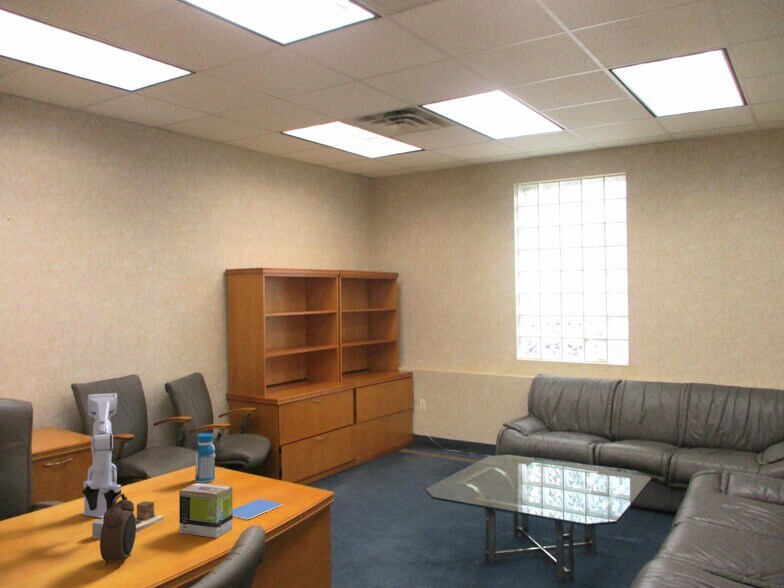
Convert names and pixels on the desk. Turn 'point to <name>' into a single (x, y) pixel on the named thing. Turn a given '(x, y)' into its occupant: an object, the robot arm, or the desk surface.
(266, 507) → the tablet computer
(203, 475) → the beverage bottle
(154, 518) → the board
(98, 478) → the robot arm
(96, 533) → the grey block
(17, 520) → the desk surface
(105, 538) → the alarm clock
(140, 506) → the walnut block
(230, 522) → the tea box
